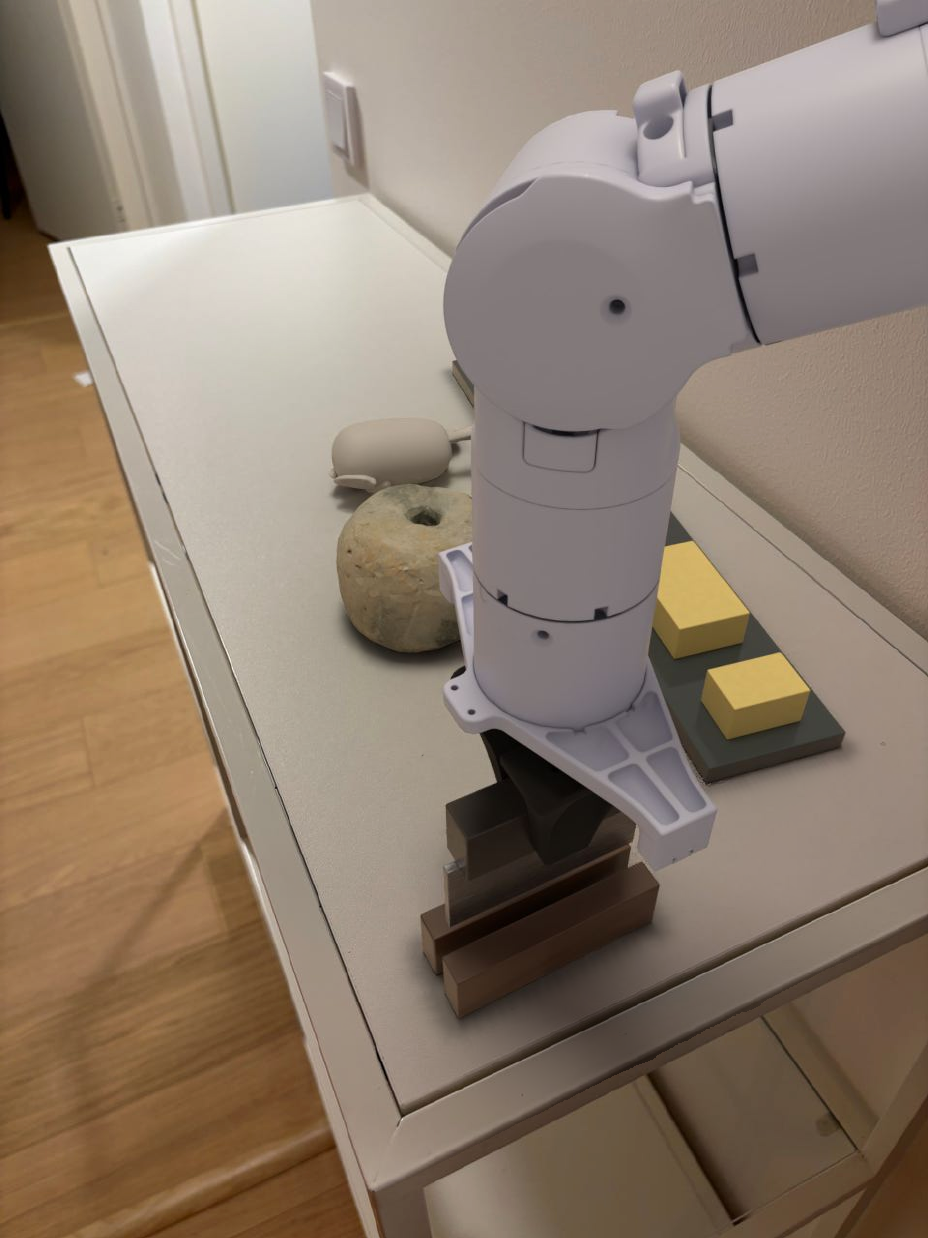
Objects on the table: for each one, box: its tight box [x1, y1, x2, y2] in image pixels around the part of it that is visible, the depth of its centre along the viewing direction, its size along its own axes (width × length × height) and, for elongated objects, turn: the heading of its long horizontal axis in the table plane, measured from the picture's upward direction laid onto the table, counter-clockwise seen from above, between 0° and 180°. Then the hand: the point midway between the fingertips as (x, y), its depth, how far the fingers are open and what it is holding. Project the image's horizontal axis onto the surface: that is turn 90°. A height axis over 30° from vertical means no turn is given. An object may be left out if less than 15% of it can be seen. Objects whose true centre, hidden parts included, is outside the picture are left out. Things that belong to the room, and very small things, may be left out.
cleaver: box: [442, 777, 637, 927], centre depth 39 cm, size 2×9×7 cm, turn 117°
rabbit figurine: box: [328, 417, 473, 495], centre depth 70 cm, size 6×5×12 cm
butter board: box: [451, 359, 847, 784], centre depth 67 cm, size 46×8×1 cm, turn 17°
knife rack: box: [419, 843, 661, 1019], centre depth 43 cm, size 4×10×3 cm, turn 117°
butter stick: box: [652, 540, 751, 659], centre depth 58 cm, size 7×4×2 cm, turn 17°
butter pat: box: [701, 652, 810, 739], centre depth 52 cm, size 3×4×2 cm
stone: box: [335, 483, 472, 654], centre depth 58 cm, size 10×10×10 cm
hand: (547, 826), depth 39 cm, fingers closed on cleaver, 2 cm apart
